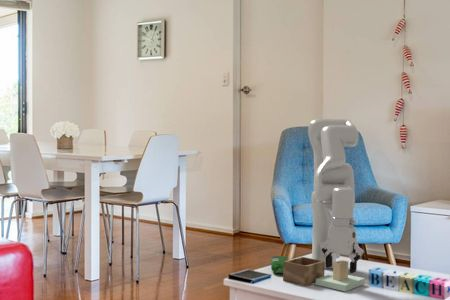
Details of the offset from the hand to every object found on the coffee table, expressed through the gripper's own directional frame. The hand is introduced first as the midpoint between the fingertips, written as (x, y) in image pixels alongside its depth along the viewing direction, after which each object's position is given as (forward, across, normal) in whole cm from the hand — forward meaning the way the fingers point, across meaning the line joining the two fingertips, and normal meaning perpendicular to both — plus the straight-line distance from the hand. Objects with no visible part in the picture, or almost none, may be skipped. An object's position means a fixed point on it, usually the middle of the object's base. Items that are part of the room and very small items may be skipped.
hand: (340, 269), depth 205 cm
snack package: (+6, +27, -1) cm, 28 cm away
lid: (+5, 0, +1) cm, 5 cm away
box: (+6, +13, +4) cm, 14 cm away
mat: (+5, 0, 0) cm, 5 cm away
